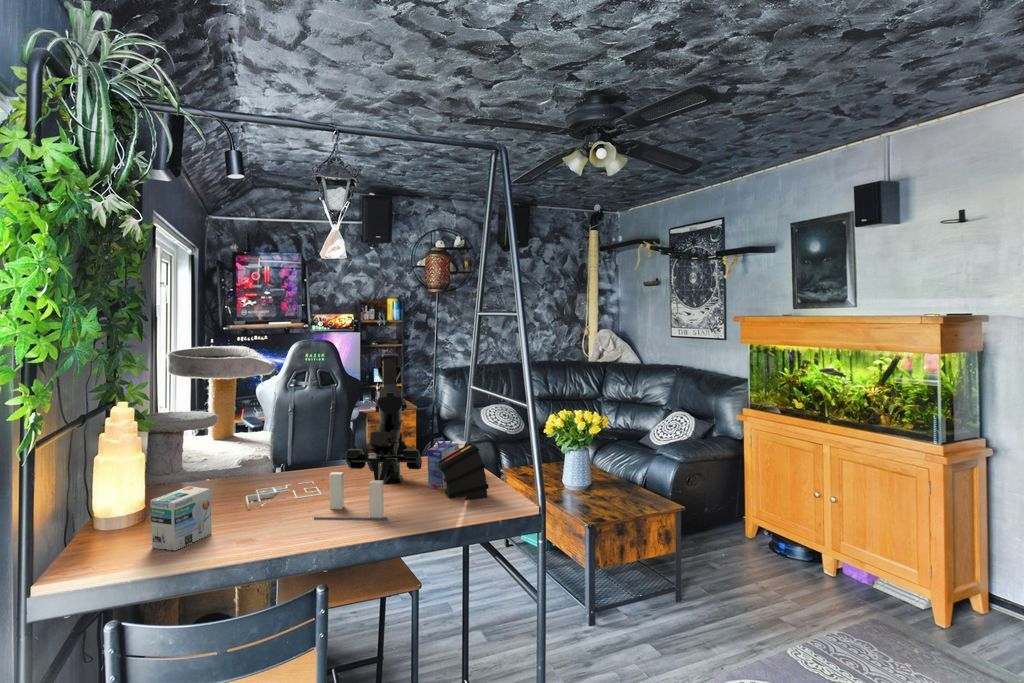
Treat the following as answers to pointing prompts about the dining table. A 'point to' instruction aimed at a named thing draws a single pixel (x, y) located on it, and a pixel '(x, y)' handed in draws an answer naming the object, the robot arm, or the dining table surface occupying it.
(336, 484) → the cream tall block
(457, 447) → the ink cartridge box
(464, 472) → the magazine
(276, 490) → the floor plan model
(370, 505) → the beige rectangular block
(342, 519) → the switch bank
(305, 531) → the dining table surface
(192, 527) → the light bulb box
